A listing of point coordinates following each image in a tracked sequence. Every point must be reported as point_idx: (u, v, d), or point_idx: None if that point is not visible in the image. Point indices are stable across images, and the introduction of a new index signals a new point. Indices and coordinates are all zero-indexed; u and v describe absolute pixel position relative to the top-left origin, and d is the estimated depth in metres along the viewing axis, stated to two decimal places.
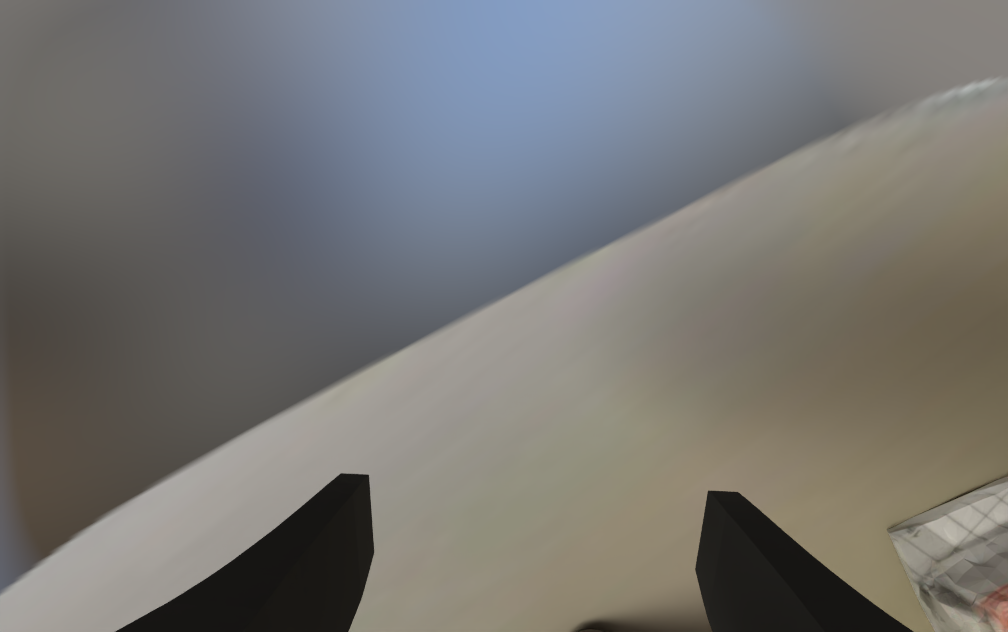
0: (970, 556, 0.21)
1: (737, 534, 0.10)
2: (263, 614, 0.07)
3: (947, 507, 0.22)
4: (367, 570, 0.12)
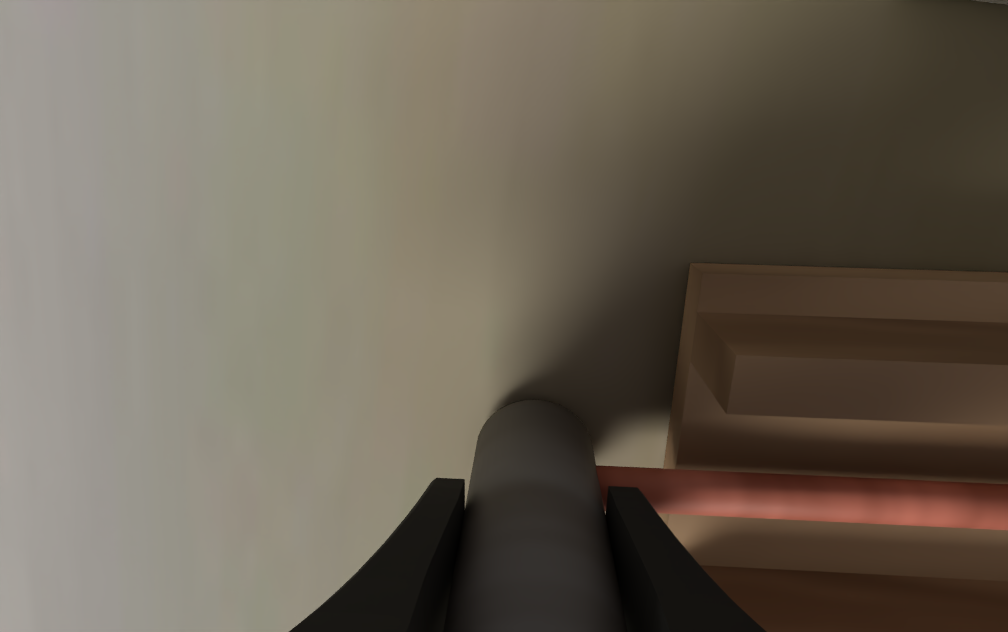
0: None
1: (623, 528, 0.10)
2: (411, 623, 0.07)
3: None
4: None
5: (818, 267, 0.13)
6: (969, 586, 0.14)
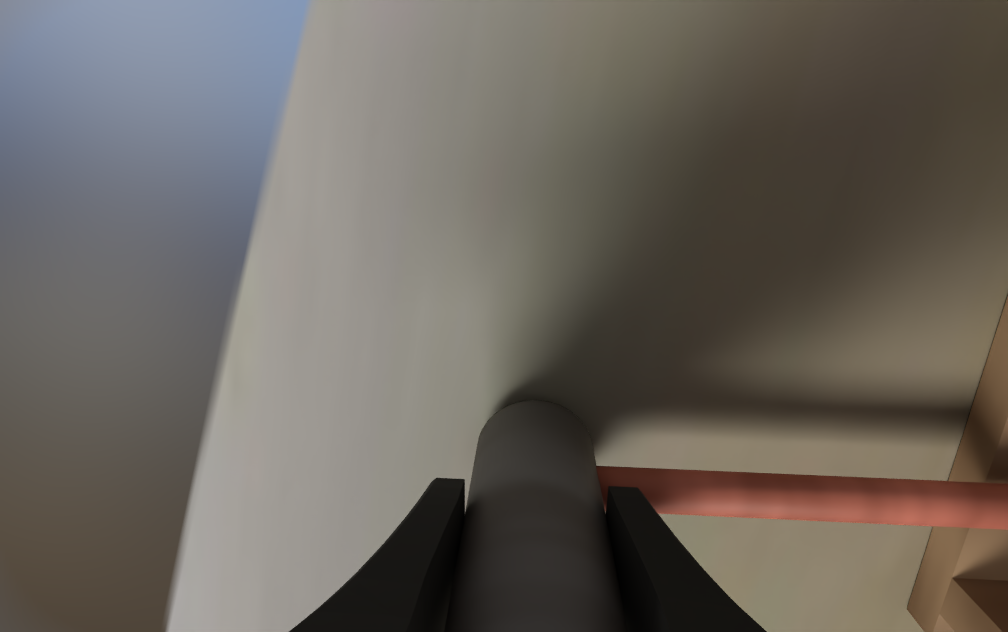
0: None
1: (623, 528, 0.10)
2: (411, 622, 0.07)
3: None
4: None
5: None
6: None
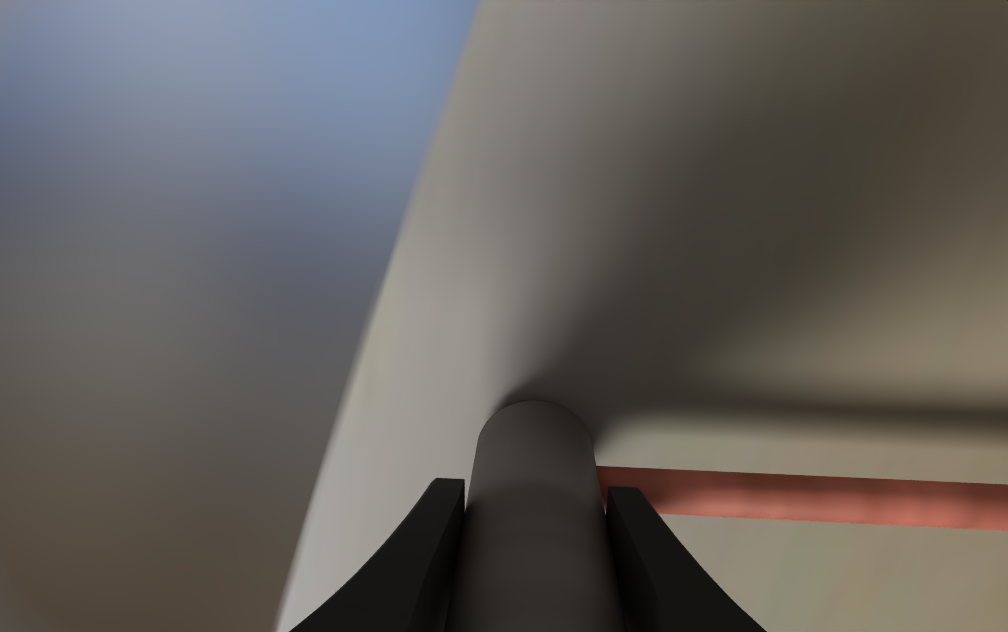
0: None
1: (622, 529, 0.10)
2: (412, 623, 0.07)
3: None
4: None
5: None
6: None
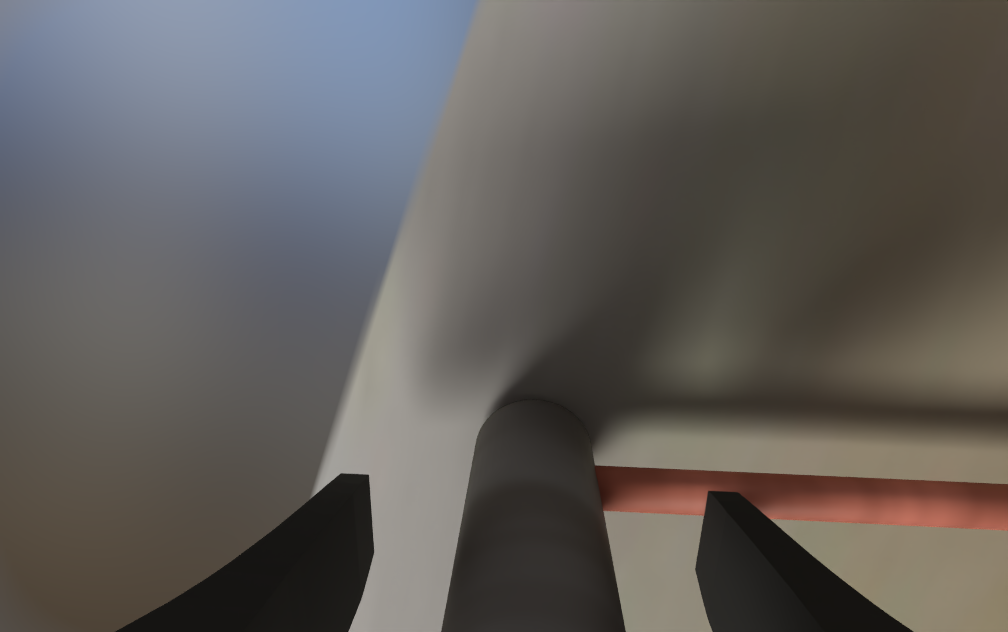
0: None
1: (738, 534, 0.10)
2: (263, 614, 0.07)
3: None
4: (367, 570, 0.12)
5: None
6: None
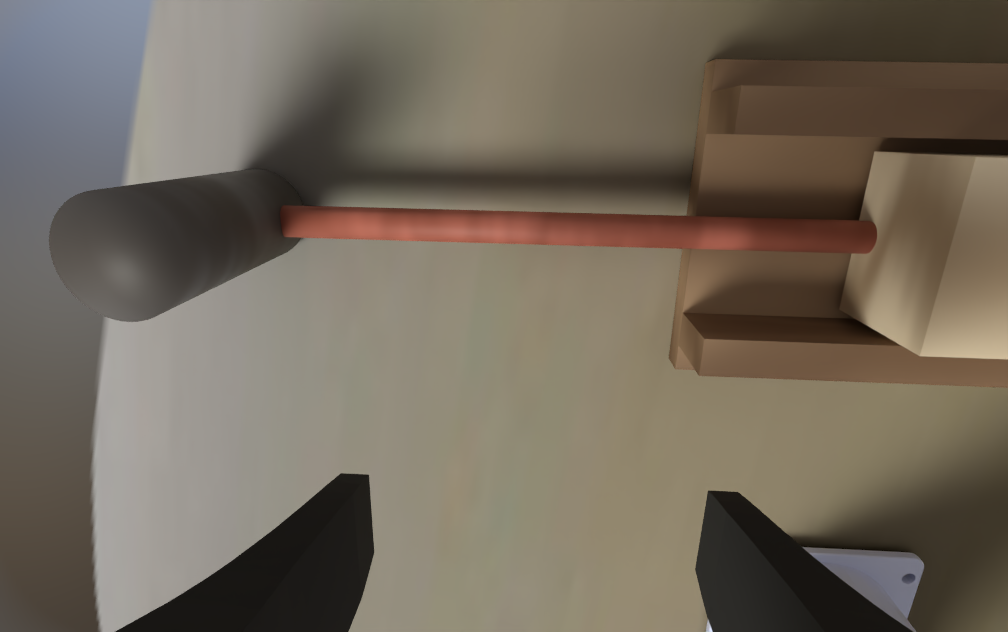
0: None
1: (738, 534, 0.10)
2: (263, 614, 0.07)
3: None
4: (367, 570, 0.12)
5: None
6: None
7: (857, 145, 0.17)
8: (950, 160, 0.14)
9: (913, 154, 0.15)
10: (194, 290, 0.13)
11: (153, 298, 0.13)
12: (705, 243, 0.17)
